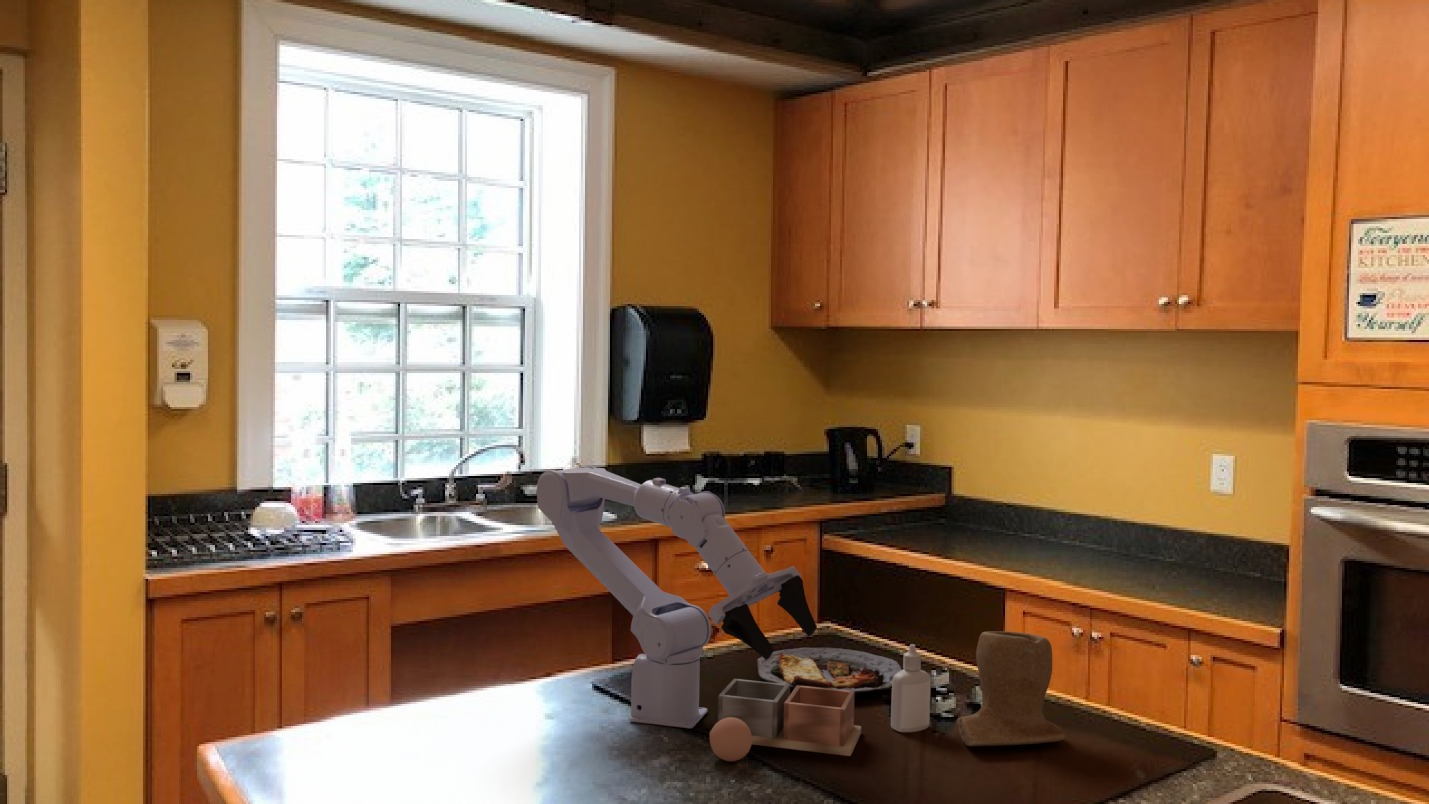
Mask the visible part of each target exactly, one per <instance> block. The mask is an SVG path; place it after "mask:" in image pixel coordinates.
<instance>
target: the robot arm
mask: <svg viewBox="0 0 1429 804" xmlns="http://www.w3.org/2000/svg"><path fill="white" fill-rule="evenodd" d="M666 481H667V480H666V479H665V478H661V477H656V478H652V479H649V480H646V481H645V482H643V483H642V484H640V483H638V482H636V481H633V480H631V479H628V478H626V477H622V476H620V475H618V474H615V473H612V472H610V471H608V470H606V468H604V467H602V468H601V467H597V466H593V465H587V466H584V467H577V468H569V469H560V470H559V469H558V470H552V469H550V470H546V471H544V472H543V473H542V474H540V476H539V478H538V480H537V484H536V498H537V501H536V502H537V508H538V509H539V510H540V511H541V513H542V514H543V515H544V516H545V517H547V518H548V520H550V521H551V522H552V525H553V526H554V528H555V530H556V532H557V534H558V536H559V539H560V541H561V542H562V544H563V545H564V546H565V547H566V548H567V550H568V551H569V552H570V553H571V554H572V555H573V556H574V557H575V558H576V559H577V560H578V561H579V562H580V563H581V564H582V565H583V566H584V567H585V568H586V569H587V570H588V571H589V572H590V573H591V574H592V575H593V577H595V578H596V579H597V580H598V581H599V583H600V584H602V585H603V586H604V588H606V589H607V591H609V592H610V594H612V596H614V598H615V599H617V600H618V602H620V604H621V605H622V606H623V607H624V608H625V609H626V610H627V611H628V612H629V613H630V614H631V616H632V620H631V625H630V632H631V633H632V634H633V635H634V636H635V638H636V639H637V640H638V642H639V645H640V647H641V649H642V651H643V653H639V654H638V655H637V657H636V658H635V659H634V662H633V665H632V670H631V685H630V687H631V689H630V692H631V693H630V694H631V697H630V698H631V699H630V702H631V703H630V716H629V718H628V720H629V722H632V723H634V722H635V723H641V724H650V725H659V726H665V727H666V726H667V727H675V728H683V729H684V728H685V729H693V728H694V727H695V726H696V725H697V724H698V723H699V722H700V720H701V719H702V718H703V717H704V716H705V715H706V714H707V712H708V708H707V707H699V706H700V670H701V669H700V667H701V666H700V661H701V655H703V653H704V652H703V651H704V649H703V648H704V646H706V645H707V644H708V643H709V641H710V638H711V635H712V623H711V620H712V622H713V623H714V624H715V626H717V625H719V624H721V623H722V625H721V627H720V628H721V630H722V631H723V632H724V634H726V635H729V636H731V637H734V638H735V639H738V640H739V641H741V642H742V643H744V644H746V645H747V646H749V647H750V648H751V649H752V650H754V651H755V652H756V653H757V654H759V655H760V657H763V658H764V659H765V660H767V659H768V658H770V656H771V655H772V653H773V652H775V650H774V647H773V646H772V644H771V642H770V641H769V640H768V638H767V637H766V635H765V634H764V633H763V631H762V629H761V628H760V627H759V625H758V623H757V622H756V619H755V618H754V616H753V614H752V612H751V610H750V607H751V606H753V605H754V604H757V603H759V602H761V601H763V600H764V599H765V600H766V599H767V598H768V597H770V596H772V595H774V594H776V593H778V592H779V593H778V596H779V599H778V600H777V606H779V607H781V608H782V609H783V610H784V611H785V612H786V613H788V614H789V616H791V617H792V619H793V620H794V621H795V622H796V624H797V626H799V627H800V628H801V630H802V631H803V632H804V634H805V635H807V637H810V636H812V635H813V634H814V633H815V631H816V630H817V629H818V625H817V624H816V621H815V619H814V617H813V615H812V612H811V611H810V607H809V604H808V602H807V597H806V594H805V589H804V581H803V578H802V574H800V572H799V571H798V569H796V567H795V566H794V565H792V566H790V567H788V568H784V569H781V570H778V571H775V572H771V573H767V572H766V571H765V570H764V569H763V567H762V566H761V564H759V562H758V561H757V559H755V557H754V555H753V554H752V553H751V552H750V550H749V549H748V547H747V546H746V545H745V544H744V542H743V541H742V539H741V538H740V537H739V535H738V534H737V533H736V532H735V530H734V529H733V528H732V526H731V525H730V523H729V522H728V521H727V519H726V518H725V517H726V511H725V509H726V508H725V506H724V503H723V502H722V500H721V498H720V497H719V496H717V495H716V494H714V493H712V492H711V491H709V490H707V491H706V490H705V491H701V492H699V493H693V492H692V491H691V488H690V487H687V486H682V487H677V486H673V485H671V484H667V483H666ZM606 500H609V501H612V502H616V503H619V504H624V505H627V506H631V507H634V511H635V513H636V514H637V515H638V517H640V518H642V519H645V520H648V521H651V522H652V523H656V524H659V525H662V526H665V527H668V528H671V529H670V530H671V532H672V533H673V534H674V535H675V536H676V537H678V538H679V539H684V540H686V541H687V542H688V543H689V545H690V547H694V548H695V549H696V551H697V553H698V554H699V555H700V557H702V559H703V561H704V562H705V563H706V565H707V566H708V567H709V569H710V570H711V571H712V572H713V574H714V575H715V577H716V579H717V580H718V581H719V582H720V584H721V585H722V587H723V588H724V590H725V591H726V593H727V594H728V596H727V597H725V598H723V600H721V601H719V602H717V603H716V604H714V605H712V606H711V607H710V609H709V612H708V613H706V611H705V610H704V609H703V608H701V607H700V606H698V605H694V604H691V603H689V602H688V601H686V600H685V599H684V598H683V597H682V596H679V595H676V594H671V593H668V592H666V591H663V590H662V589H661V588H660V587H659V586H658V585H657V584H656V583H655V582H654V581H653V580H652V579H651V578H650V577H649V576H648V575H646V573H645V572H644V571H642V570H641V569H640V568H639V566H637V565H636V564H635V562H633V561H632V559H630V558H629V557H628V556H627V554H625V553H624V552H623V551H622V550H621V549H620V548H619V546H617V545H616V544H615V543H614V542H613V541H612V540H611V539H610V538H609V537H608V536H607V535H606V534H605V533H604V532H603V531H602V530H601V529H600V528H599V526H600V524H602V522H603V515H604V510H605V509H604V508H605V502H606Z"/></svg>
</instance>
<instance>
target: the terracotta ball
mask: <svg viewBox="0 0 1429 804" xmlns="http://www.w3.org/2000/svg"><path fill="white" fill-rule="evenodd" d="M711 730H712V731H711ZM711 730H710V731H711V734H710V733H709V744H710V747H711V748H710V749H711V750H712V752H713V753H714V755H715V756H717V757H718V758H719V759H721V760H723V761H726V762H736V761H739V760H741V759H743V758H744V757H746V756H747V754H749V752H750V750H751V747H752V745H753V744H752V735H751V731H750V729H749V727H748V726H747V725H746V723H744V722H743V721H742V720H740V719H738V718H733V717H728V718H724V719H722V720H720V721H719V722H718V721H717V722H716V723H715V724H714V725H713V727H712V729H711Z"/></svg>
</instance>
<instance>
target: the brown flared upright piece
mask: <svg viewBox="0 0 1429 804" xmlns="http://www.w3.org/2000/svg"><path fill="white" fill-rule="evenodd" d="M975 658H976V665H977V669H978V670H977V671H978V676H979V681H980V682H979V683H980V688H981V697H982V698H981V699H982V703H981V707H980V709H979V710H978V711H977V712H975V713H974V714H970V715H965V716H964V715H963V716H960V717H958V718H957V719H956V721H955V723H956V726H957V728H958V732H959V735H960V738H961V740H962V741H963V743H964V744H965V746H968V747H997V746H998V747H999V746H1001V747H1003V746H1004V747H1005V746H1017V745H1018V746H1020V745H1035V744H1037V745H1038V744H1046V743H1054V742H1060V741H1063V740H1065V739H1066V733H1065V732H1064V731H1063V730H1062V729H1061V728H1060V727H1059V726H1057V725H1056V724H1055V723H1053V722H1051V721H1050V720H1048V719H1046V717H1045V716H1044V714H1043V710H1044V709H1043V708H1044V707H1043V706H1044V701H1045V697H1046V694H1047V692H1048V689H1049V685H1050V682H1051V679H1052V673H1053V649H1052V644H1051V641H1049V639H1048V638H1046V637H1045V636H1041V635H1037V634H1034V633H1033V634H1032V633H1026V632H1017V631H1004V630H1003V631H1002V630H1001V631H998V630H997V631H996V630H995V631H983V632H981V633H980V635H979V638H978V642H977V646H976V653H975Z"/></svg>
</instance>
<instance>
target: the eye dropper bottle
mask: <svg viewBox="0 0 1429 804" xmlns="http://www.w3.org/2000/svg"><path fill="white" fill-rule="evenodd" d="M916 648H917V647H916V644H913V643H911V644H909V649H908V651H907V652H904V653H903V660H902V661H903V662H902V663H903V664H902V666H903V667H902V668H903V669H902V670H901V671H899V672H898V673H897V674H895V675H894V677H893V680H892V688H891V700H890V701H891V702H890V703H891V704H890V708H891V709H890V710H891V711H890V727H891V728H892V730H895V731H896V732H899V733H917V732H921V731H923V730H926V729H928V727H929V726H930V721H931V720H930V715H931V714H930V713H931V711H930V710H931V676H930V674H929V673H928V672H926V671H925V670H922V669H921V667H922V665H921V664H922V662H921V661H922V655H921V653H918V652H917V649H916Z"/></svg>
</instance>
